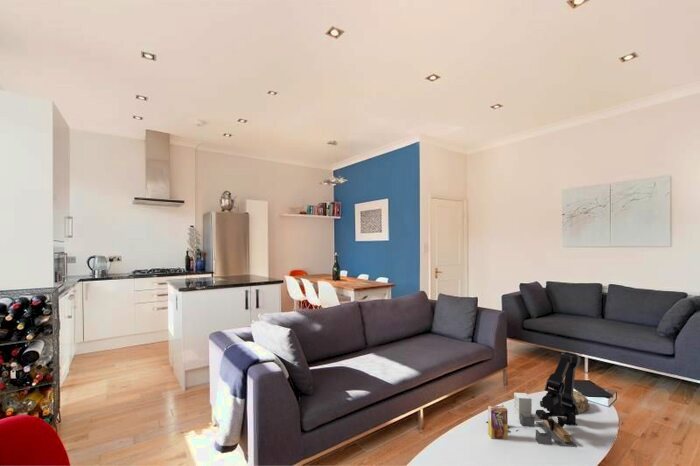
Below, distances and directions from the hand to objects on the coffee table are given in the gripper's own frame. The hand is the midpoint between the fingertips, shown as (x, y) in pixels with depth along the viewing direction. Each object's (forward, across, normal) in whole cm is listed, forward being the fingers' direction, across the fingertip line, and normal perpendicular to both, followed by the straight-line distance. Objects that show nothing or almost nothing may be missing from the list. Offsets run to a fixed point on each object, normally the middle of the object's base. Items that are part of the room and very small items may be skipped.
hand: (555, 430), depth 178 cm
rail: (0, 0, 0) cm, 0 cm away
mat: (+2, 0, 0) cm, 2 cm away
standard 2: (+2, +11, +8) cm, 14 cm away
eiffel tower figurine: (+2, +26, -6) cm, 27 cm away
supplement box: (+2, +9, -17) cm, 19 cm away
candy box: (+2, +33, +4) cm, 33 cm away
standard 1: (+2, +11, -8) cm, 14 cm away
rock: (+2, -29, -30) cm, 42 cm away
